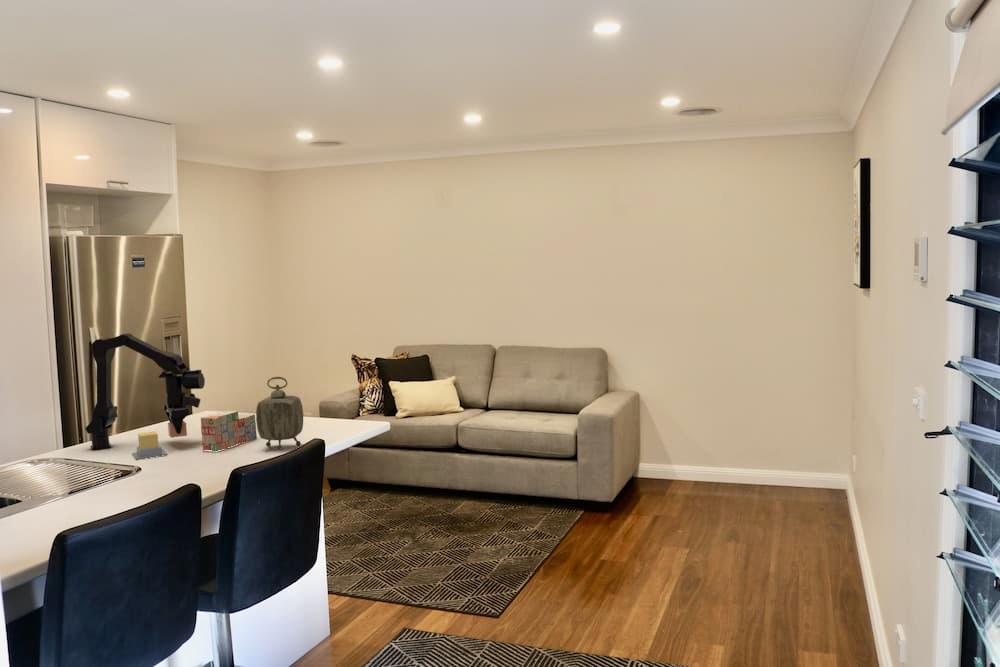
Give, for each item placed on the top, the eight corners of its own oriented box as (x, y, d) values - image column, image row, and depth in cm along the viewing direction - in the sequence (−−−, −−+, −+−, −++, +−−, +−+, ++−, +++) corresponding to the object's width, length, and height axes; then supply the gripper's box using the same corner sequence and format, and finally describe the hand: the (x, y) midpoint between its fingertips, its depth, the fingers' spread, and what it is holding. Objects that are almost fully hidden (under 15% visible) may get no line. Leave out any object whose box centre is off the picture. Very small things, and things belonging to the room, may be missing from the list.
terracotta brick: (168, 435, 304) (167, 422, 303) (184, 432, 306) (183, 420, 306) (170, 437, 299) (169, 425, 298) (186, 435, 301) (186, 423, 301)
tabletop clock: (305, 444, 296) (300, 374, 294) (298, 450, 287) (293, 378, 285) (264, 445, 296) (259, 375, 294) (256, 452, 287) (251, 379, 285)
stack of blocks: (243, 438, 311) (241, 405, 310) (257, 439, 309) (255, 406, 308) (202, 451, 292) (200, 416, 290) (217, 452, 289) (214, 417, 288)
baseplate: (132, 454, 291) (131, 446, 290) (162, 450, 296) (162, 441, 295) (136, 460, 282) (135, 451, 282) (167, 455, 287) (166, 447, 287)
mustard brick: (139, 446, 290) (138, 433, 289) (156, 444, 292) (155, 431, 292) (141, 449, 285) (140, 436, 284) (158, 446, 288) (157, 434, 287)
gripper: (202, 390, 297) (206, 433, 299) (192, 384, 313) (195, 425, 315) (169, 393, 291) (173, 438, 293) (160, 387, 307) (164, 429, 309)
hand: (177, 432), depth 303 cm, fingers closed on terracotta brick, 6 cm apart
